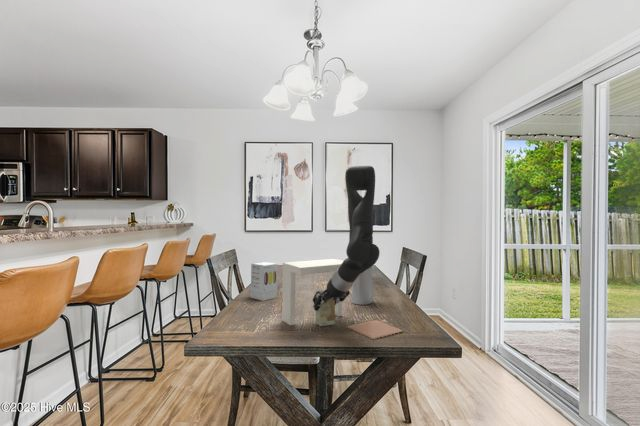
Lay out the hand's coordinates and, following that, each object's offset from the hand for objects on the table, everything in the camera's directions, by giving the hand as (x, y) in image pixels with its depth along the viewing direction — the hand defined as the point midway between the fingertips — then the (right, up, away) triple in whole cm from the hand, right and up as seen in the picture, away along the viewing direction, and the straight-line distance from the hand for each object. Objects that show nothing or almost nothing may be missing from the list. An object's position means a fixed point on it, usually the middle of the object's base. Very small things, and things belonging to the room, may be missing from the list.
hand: (323, 307), depth 132 cm
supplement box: (-29, -6, +38) cm, 48 cm away
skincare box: (+1, -6, -1) cm, 6 cm away
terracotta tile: (+19, -6, -7) cm, 21 cm away
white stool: (-2, -6, +3) cm, 7 cm away
